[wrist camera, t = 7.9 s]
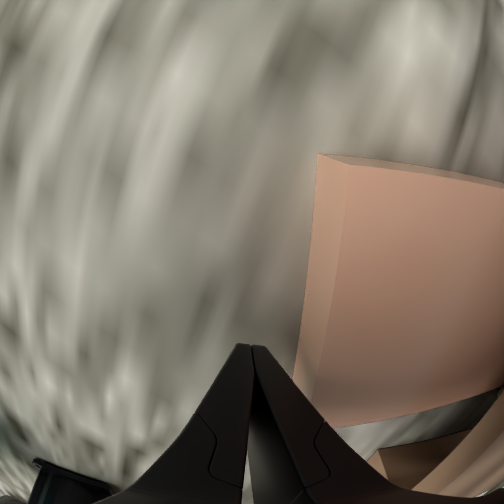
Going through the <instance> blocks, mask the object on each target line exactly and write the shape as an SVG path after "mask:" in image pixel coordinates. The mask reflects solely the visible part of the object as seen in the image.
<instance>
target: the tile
mask: <svg viewBox="0 0 504 504" xmlns="http://www.w3.org/2000/svg"><path fill="white" fill-rule="evenodd" d="M293 382H294V383H295V384H296V385H297V387H298V388H299V389H300V390H301V391H302V393H303V394H304V395H305V396H306V398H307V399H308V400H309V401H310V402H311V404H312V405H313V406H314V407H315V408H316V410H317V411H318V412H319V413H320V414H321V416H322V417H323V418H324V419H325V421H327V422H328V424H329V425H330V426H331V427H332V428H339V427H346V426H353V425H360V424H366V423H371V422H377V421H382V420H387V419H392V418H397V417H402V416H406V415H410V414H414V413H419V412H423V411H426V410H430V409H434V408H437V407H441V406H444V405H448V404H451V403H454V402H458V401H461V400H464V399H467V398H470V397H473V396H476V395H479V394H481V393H484V392H487V391H490V390H492V389H495V388H497V387H500V386H502V385H504V183H502V182H498V181H494V180H490V179H486V178H481V177H477V176H472V175H467V174H463V173H458V172H453V171H447V170H442V169H436V168H431V167H425V166H419V165H412V164H406V163H399V162H392V161H384V160H377V159H368V158H359V157H350V156H340V155H329V154H318V156H317V172H316V186H315V198H314V210H313V222H312V232H311V243H310V252H309V262H308V271H307V279H306V288H305V296H304V304H303V312H302V319H301V327H300V334H299V341H298V348H297V354H296V361H295V367H294V374H293Z"/></svg>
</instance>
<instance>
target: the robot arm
mask: <svg viewBox="0 0 504 504" xmlns="http://www.w3.org/2000/svg"><path fill="white" fill-rule="evenodd" d="M247 449H248V458H249V467H250V475H251V484H252V492H253V500H254V504H504V488H499V489H497V490H495V491H493V492H491V493H490V494H487V495H485V496H481V497H472V498H468V497H455V496H447V495H439V494H432V493H425V492H419V491H414V490H409V489H405V488H402V487H399V486H397V485H395V484H393V483H392V482H390V481H389V480H387V479H386V478H385V477H384V476H382V475H381V474H380V473H379V472H378V471H377V470H375V469H374V468H373V467H372V466H371V465H370V464H369V463H367V462H366V461H365V460H364V459H363V458H362V457H361V456H359V455H358V454H357V453H356V452H355V451H354V450H353V449H352V448H351V447H350V446H349V445H348V444H347V443H346V442H345V441H344V440H343V439H342V438H341V437H340V436H339V435H338V434H337V433H336V432H335V431H334V429H333V428H332V427H331V426H330V425H329V424H328V422H327V421H325V419H324V418H323V417H322V416H321V414H320V413H319V412H318V411H317V410H316V408H315V407H314V406H313V405H312V404H311V402H310V401H309V400H308V399H307V398H306V396H305V395H304V394H303V393H302V391H301V390H300V389H299V388H298V387H297V385H296V384H295V383H294V382H293V380H292V379H291V378H290V377H289V376H288V374H287V373H286V372H285V371H284V369H283V368H282V367H281V366H280V364H279V363H278V362H277V361H276V359H275V358H274V357H273V356H272V354H271V353H270V352H269V350H268V349H267V348H266V347H265V346H260V345H252V346H250V345H249V344H242V343H237V344H236V346H235V347H234V349H233V351H232V352H231V354H230V356H229V357H228V359H227V361H226V362H225V364H224V366H223V367H222V369H221V371H220V372H219V374H218V375H217V377H216V379H215V380H214V382H213V384H212V385H211V387H210V389H209V390H208V392H207V393H206V395H205V397H204V398H203V400H202V401H201V403H200V405H199V406H198V408H197V409H196V411H195V413H194V414H193V416H192V417H191V419H190V420H189V422H188V423H187V425H186V426H185V428H184V429H183V430H182V432H181V433H180V435H179V436H178V437H177V438H176V440H175V441H174V442H173V443H172V444H171V445H170V447H169V448H168V449H167V450H166V451H165V452H164V453H163V454H162V455H161V456H160V457H159V458H158V459H157V461H156V462H155V463H154V464H153V465H152V466H151V467H150V468H149V469H148V470H147V471H146V472H145V473H144V474H143V475H142V476H141V477H140V478H139V479H138V480H137V481H136V482H134V483H133V484H132V485H131V486H129V487H128V488H126V489H125V490H123V491H121V492H119V493H117V494H114V493H113V491H112V489H111V487H110V486H108V485H106V484H103V483H100V482H97V481H93V480H90V479H87V478H84V477H81V476H78V475H75V474H72V473H70V472H67V471H64V470H62V469H59V468H56V467H54V466H51V465H49V464H47V463H44V462H42V461H40V460H37V459H33V462H32V464H33V465H34V467H35V468H36V469H37V470H38V472H39V473H38V476H37V479H36V481H35V484H34V487H33V489H32V492H31V495H30V498H29V501H28V503H25V502H23V501H21V500H19V499H16V498H14V497H11V496H8V495H4V496H1V497H0V504H241V502H242V489H243V482H244V473H245V464H246V455H247Z"/></svg>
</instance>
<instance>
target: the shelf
mask: <svg viewBox="0 0 504 504" xmlns="http://www.w3.org/2000/svg"><path fill="white" fill-rule="evenodd" d="M496 395H497V397H498V399H497V400H496V401H495V403H494V404H493V405H492V406H491V408H490V409H489V410H488V412H487V413H486V414H485V415H484V417H483V418H482V419H481V420H480V421H479V423H478V424H477V425H476V426H475V427H474V428H473V429H470V430H466V431H463V432H459V433H456V434H452V435H448V436H445V437H440V438H436V439H432V440H428V441H423V442H418V443H413V444H408V445H403V446H397V447H391V448H385V449H378V450H377V451H376V452H375V453H374V454H373V455H372V457H371V458H370V459H369V460H368V461H367V463H369V464H370V465H371V466H372V467H373V468H374V469H375V470H377V471H378V472H379V473H380V474H381V475H382V476H384V477H385V478H386V479H387V480H389V481H390V482H392V483H393V484H395V485H397V486H399V487H402V488H405V489H409V490H414V491H419V492H425V493H432V494H439V495H447V496H455V497H468V498H472V497H476V496H478V495H480V494H482V493H484V492H486V491H488V490H489V489H491V488H493V487H495V486H496V485H497V484H498V483H499V482H500V481H502V480H503V479H504V385H503V386H502V388H501V389H500V390H499V392H498V393H497V394H496Z"/></svg>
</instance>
